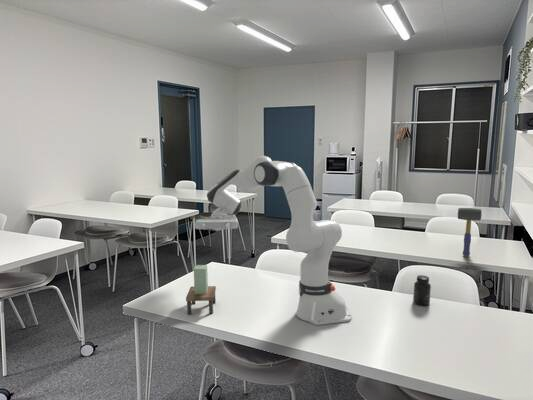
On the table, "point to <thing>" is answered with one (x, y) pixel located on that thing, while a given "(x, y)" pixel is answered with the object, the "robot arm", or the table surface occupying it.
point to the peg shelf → (201, 298)
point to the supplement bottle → (422, 291)
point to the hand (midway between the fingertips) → (215, 227)
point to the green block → (200, 279)
